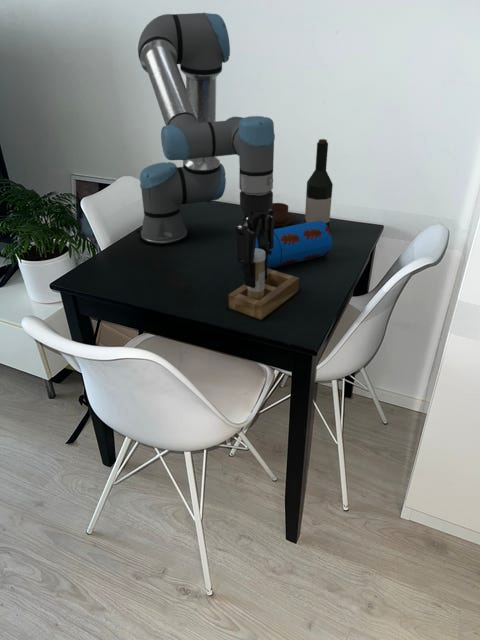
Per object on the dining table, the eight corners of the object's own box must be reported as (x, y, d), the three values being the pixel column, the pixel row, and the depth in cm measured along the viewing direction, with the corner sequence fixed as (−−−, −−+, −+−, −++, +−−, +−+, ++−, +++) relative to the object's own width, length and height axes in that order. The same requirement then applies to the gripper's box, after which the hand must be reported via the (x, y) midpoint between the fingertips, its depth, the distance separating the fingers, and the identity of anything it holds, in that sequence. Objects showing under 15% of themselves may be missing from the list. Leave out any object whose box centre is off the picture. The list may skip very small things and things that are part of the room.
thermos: (336, 245, 148) (260, 262, 139) (321, 261, 157) (249, 278, 148) (322, 213, 150) (246, 228, 141) (308, 231, 160) (236, 246, 151)
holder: (228, 308, 130) (228, 294, 128) (267, 281, 142) (267, 268, 140) (261, 320, 125) (261, 306, 123) (298, 290, 137) (299, 277, 135)
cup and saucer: (262, 216, 184) (262, 200, 181) (295, 217, 183) (295, 201, 180) (258, 229, 174) (258, 211, 171) (293, 230, 173) (294, 213, 170)
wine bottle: (330, 228, 174) (338, 137, 158) (326, 237, 167) (334, 144, 151) (306, 225, 176) (312, 136, 160) (301, 234, 170) (306, 142, 154)
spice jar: (243, 300, 130) (242, 252, 123) (254, 293, 133) (254, 246, 125) (257, 306, 127) (257, 257, 120) (268, 298, 130) (269, 250, 123)
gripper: (247, 204, 107) (248, 300, 119) (290, 183, 119) (287, 272, 131) (219, 198, 111) (222, 291, 123) (264, 178, 123) (263, 265, 135)
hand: (256, 281), depth 127 cm, fingers closed on spice jar, 5 cm apart
